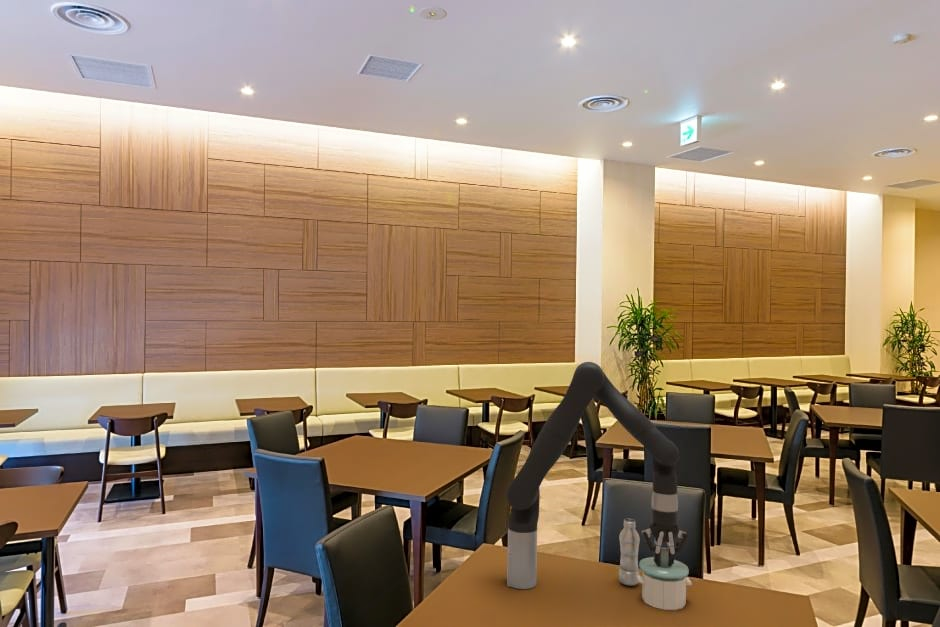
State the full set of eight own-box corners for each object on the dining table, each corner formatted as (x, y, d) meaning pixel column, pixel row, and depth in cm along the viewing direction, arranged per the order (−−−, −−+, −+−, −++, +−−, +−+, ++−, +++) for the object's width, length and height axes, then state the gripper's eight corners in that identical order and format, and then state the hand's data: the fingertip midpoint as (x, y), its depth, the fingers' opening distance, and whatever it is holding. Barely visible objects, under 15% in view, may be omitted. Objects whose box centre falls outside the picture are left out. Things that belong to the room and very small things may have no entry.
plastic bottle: (637, 580, 196) (638, 517, 197) (641, 589, 190) (642, 524, 190) (616, 579, 197) (617, 516, 197) (620, 587, 190) (620, 523, 191)
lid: (644, 577, 175) (645, 556, 176) (635, 559, 189) (635, 539, 190) (694, 580, 175) (694, 559, 175) (681, 561, 188) (681, 541, 189)
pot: (642, 608, 176) (642, 580, 176) (633, 590, 188) (633, 564, 188) (696, 610, 175) (696, 582, 176) (683, 592, 187) (683, 566, 188)
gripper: (643, 509, 179) (642, 569, 179) (692, 511, 178) (691, 571, 178) (638, 502, 187) (637, 559, 186) (684, 504, 186) (683, 561, 185)
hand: (663, 564), depth 182 cm, fingers closed on lid, 3 cm apart
